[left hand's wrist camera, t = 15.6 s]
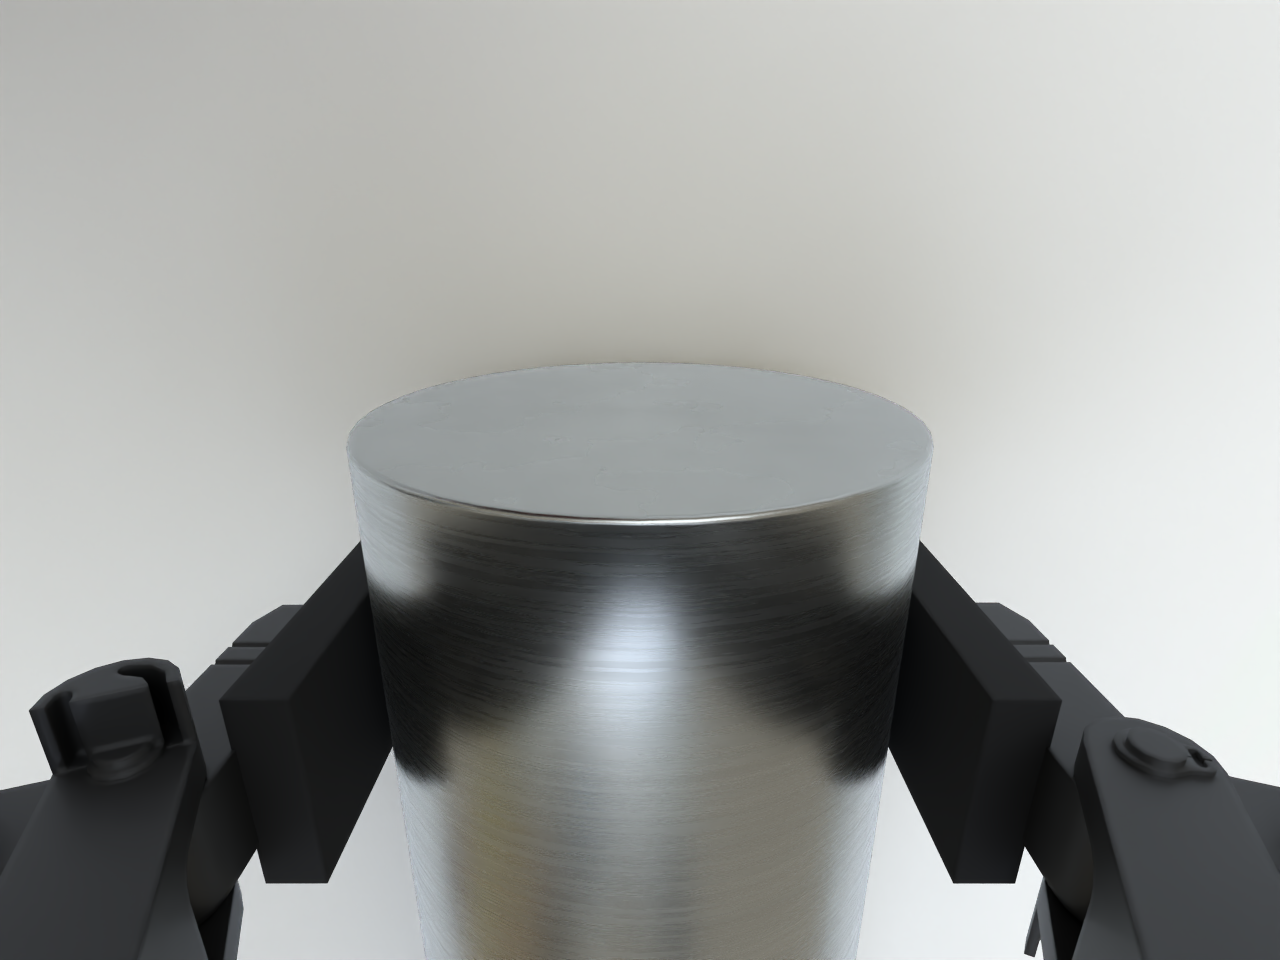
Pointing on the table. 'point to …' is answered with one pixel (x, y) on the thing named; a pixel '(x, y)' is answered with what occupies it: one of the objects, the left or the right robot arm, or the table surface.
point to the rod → (640, 653)
